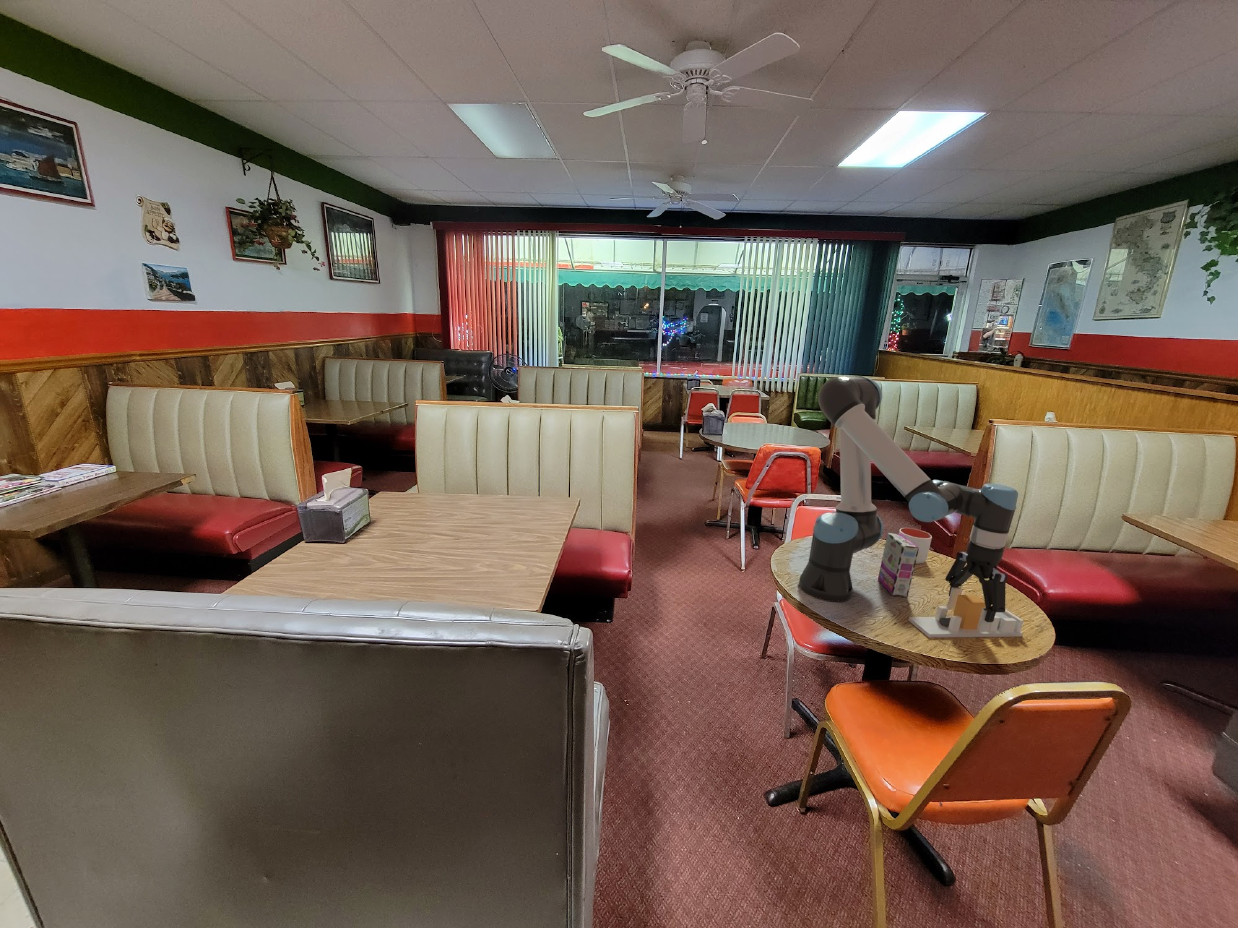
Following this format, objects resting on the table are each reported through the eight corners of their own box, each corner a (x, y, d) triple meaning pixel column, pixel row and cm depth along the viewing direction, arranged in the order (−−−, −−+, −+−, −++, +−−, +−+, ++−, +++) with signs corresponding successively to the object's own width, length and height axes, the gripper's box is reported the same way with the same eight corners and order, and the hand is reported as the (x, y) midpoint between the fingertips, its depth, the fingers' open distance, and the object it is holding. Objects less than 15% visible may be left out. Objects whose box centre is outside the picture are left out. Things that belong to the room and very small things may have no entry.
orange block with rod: (947, 629, 130) (954, 602, 128) (936, 620, 134) (942, 594, 132) (1008, 628, 132) (1016, 602, 130) (996, 620, 136) (1003, 594, 134)
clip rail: (928, 637, 128) (932, 620, 126) (908, 620, 135) (912, 604, 134) (1022, 636, 130) (1027, 619, 129) (997, 619, 138) (1001, 603, 137)
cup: (927, 567, 169) (933, 540, 167) (895, 560, 173) (900, 534, 171) (924, 556, 178) (930, 531, 176) (893, 550, 182) (898, 525, 180)
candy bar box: (909, 597, 148) (920, 547, 144) (891, 596, 148) (902, 546, 144) (893, 580, 158) (903, 533, 154) (877, 578, 159) (886, 531, 155)
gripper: (1039, 563, 116) (1015, 644, 122) (966, 527, 138) (948, 597, 143) (1011, 562, 115) (988, 645, 121) (941, 526, 137) (924, 597, 143)
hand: (966, 619), depth 132 cm, fingers open, 10 cm apart
